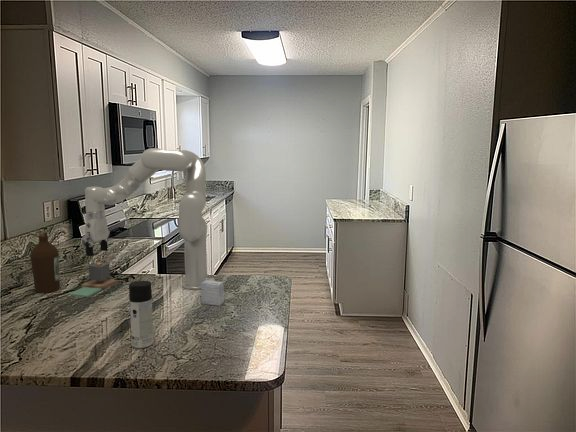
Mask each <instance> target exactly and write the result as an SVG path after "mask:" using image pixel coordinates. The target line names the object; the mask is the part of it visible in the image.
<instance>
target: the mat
mask: <svg viewBox="0 0 576 432" xmlns="http://www.w3.org/2000/svg"><path fill="white" fill-rule="evenodd" d="M102 290H103V289H99V288H88V287H80V288H78V289H76V290H74V291H72V292H70V293H68V296H74V297H75V296H76V297H84V298H88V297H91V296H93V295H95V294H97V293H99V292H101V291H102Z"/></svg>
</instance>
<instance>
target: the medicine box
mask: <svg viewBox="0 0 576 432" xmlns="http://www.w3.org/2000/svg"><path fill="white" fill-rule="evenodd" d="M200 290H201V291H200V295H201V304H202V305H210V306H216V307H217V306H218V307H219V306H222V304H224V303H225V295H224V294H225V293H224V290H225V289H224V281H217V280H215V281H209V280H206V281H204V282H202V283H201V289H200Z"/></svg>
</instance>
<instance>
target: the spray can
mask: <svg viewBox="0 0 576 432" xmlns="http://www.w3.org/2000/svg"><path fill="white" fill-rule="evenodd" d="M152 292H153V291H152V282H151V281H149V280H135V281H132V282H130V283H129V284H128V295H129V296H128V297H129V298H128V299H129V325H130V342H131V343H130V345H131V347H132V348H134V349H136V350H137V349H138V350H139V349H146V348H149V347H151V346H152V345H153V343H154V322H153V317H154V316H153V315H154V314H153V295H152V294H153V293H152Z"/></svg>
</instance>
